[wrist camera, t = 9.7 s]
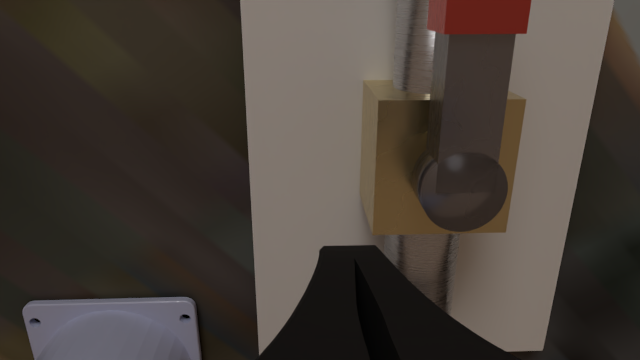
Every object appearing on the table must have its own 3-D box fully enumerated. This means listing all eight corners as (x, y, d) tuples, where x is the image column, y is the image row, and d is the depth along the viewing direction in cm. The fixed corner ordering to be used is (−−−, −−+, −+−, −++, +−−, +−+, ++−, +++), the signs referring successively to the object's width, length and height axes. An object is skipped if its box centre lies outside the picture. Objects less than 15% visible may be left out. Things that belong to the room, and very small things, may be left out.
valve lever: (483, 209, 17) (504, 233, 15) (407, 211, 17) (420, 235, 15) (529, -145, 13) (563, -165, 11) (432, -146, 13) (452, -166, 11)
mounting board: (531, 334, 26) (542, 350, 24) (261, 342, 25) (259, 359, 24) (628, -170, 18) (651, -181, 16) (234, -176, 17) (230, -188, 16)
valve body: (452, 314, 24) (486, 383, 20) (354, 316, 24) (366, 387, 19) (503, -111, 17) (568, -143, 13) (368, -113, 17) (391, -146, 13)
